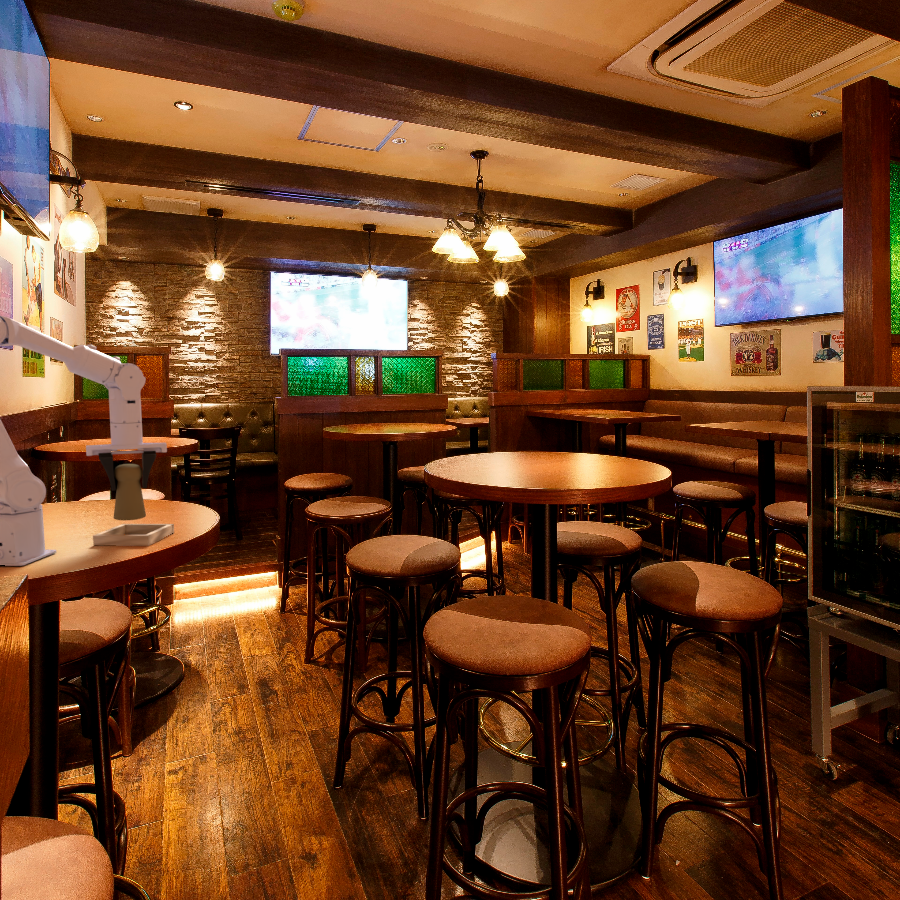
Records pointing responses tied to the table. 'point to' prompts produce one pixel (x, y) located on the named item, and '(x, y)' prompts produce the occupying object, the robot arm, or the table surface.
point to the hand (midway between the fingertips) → (129, 488)
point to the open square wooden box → (119, 539)
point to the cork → (129, 493)
